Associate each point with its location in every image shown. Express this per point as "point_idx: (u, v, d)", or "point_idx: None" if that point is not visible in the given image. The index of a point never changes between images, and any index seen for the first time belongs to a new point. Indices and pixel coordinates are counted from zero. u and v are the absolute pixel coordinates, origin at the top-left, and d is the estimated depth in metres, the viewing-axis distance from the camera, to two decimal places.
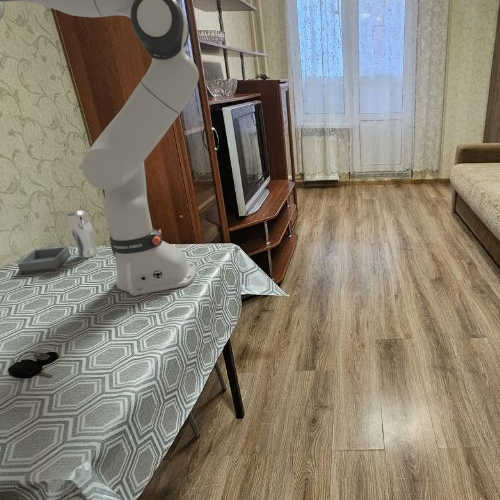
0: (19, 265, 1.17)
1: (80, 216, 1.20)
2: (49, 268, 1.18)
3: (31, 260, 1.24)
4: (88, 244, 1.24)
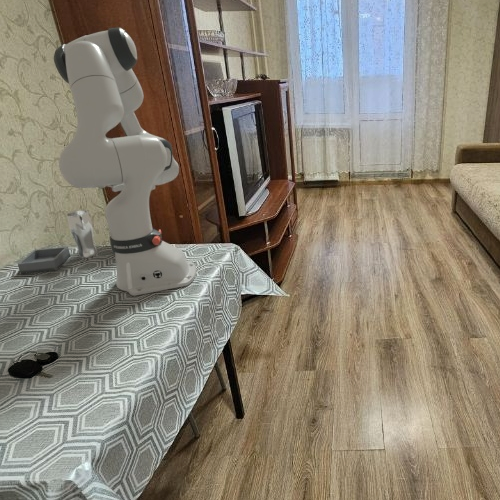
0: (19, 265, 1.17)
1: (80, 216, 1.20)
2: (49, 268, 1.18)
3: (31, 260, 1.24)
4: (88, 244, 1.24)
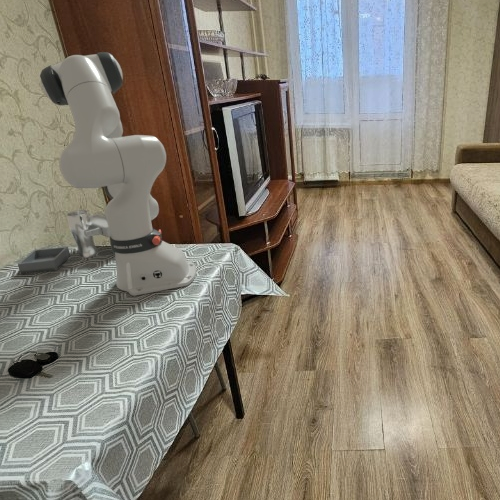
0: (19, 265, 1.17)
1: (80, 216, 1.20)
2: (49, 268, 1.18)
3: (31, 260, 1.24)
4: (88, 244, 1.24)
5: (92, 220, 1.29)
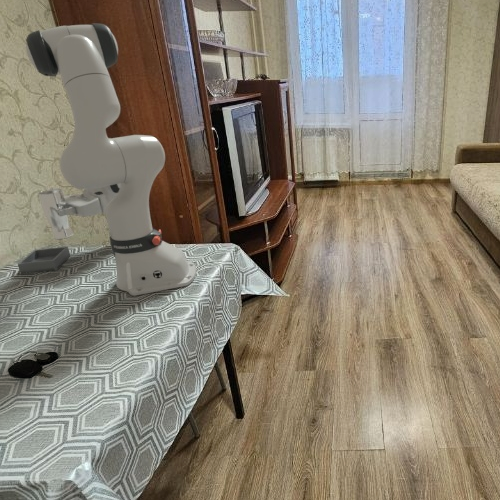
0: (19, 265, 1.17)
1: (53, 195, 1.15)
2: (49, 268, 1.18)
3: (31, 260, 1.24)
4: (62, 224, 1.19)
5: (67, 200, 1.24)
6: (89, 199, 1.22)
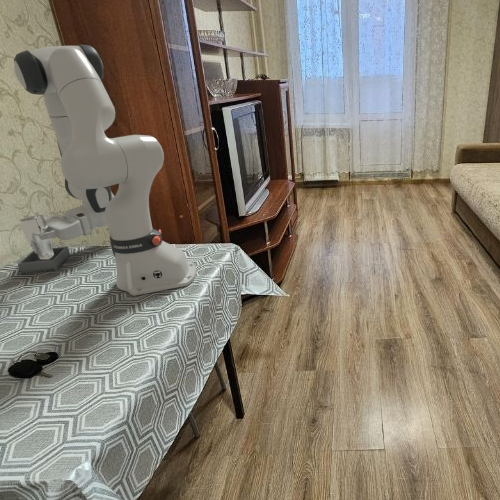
0: (19, 265, 1.17)
1: (34, 221, 1.14)
2: (49, 268, 1.18)
3: (31, 260, 1.24)
4: (45, 250, 1.18)
5: (49, 222, 1.23)
6: (70, 221, 1.22)
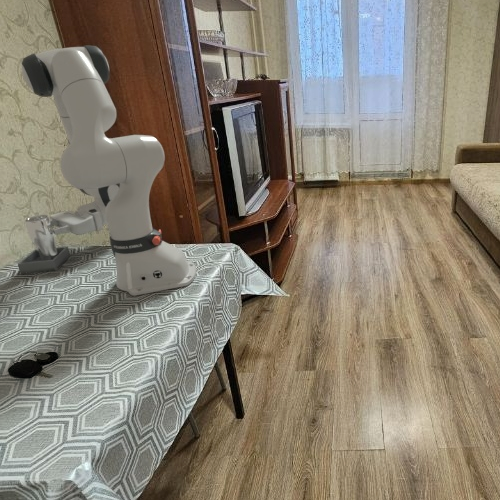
0: (19, 265, 1.17)
1: (38, 222, 1.14)
2: (49, 268, 1.18)
3: (31, 260, 1.24)
4: (49, 250, 1.19)
5: (62, 217, 1.26)
6: (83, 217, 1.24)
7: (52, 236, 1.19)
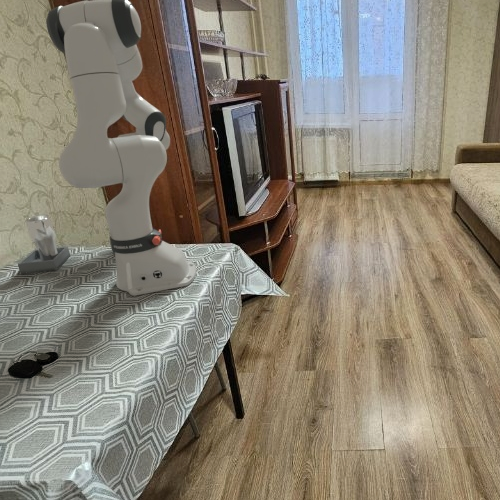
0: (19, 265, 1.17)
1: (39, 222, 1.14)
2: (49, 268, 1.18)
3: (31, 260, 1.24)
4: (49, 250, 1.19)
5: None
6: None
7: (52, 236, 1.19)
